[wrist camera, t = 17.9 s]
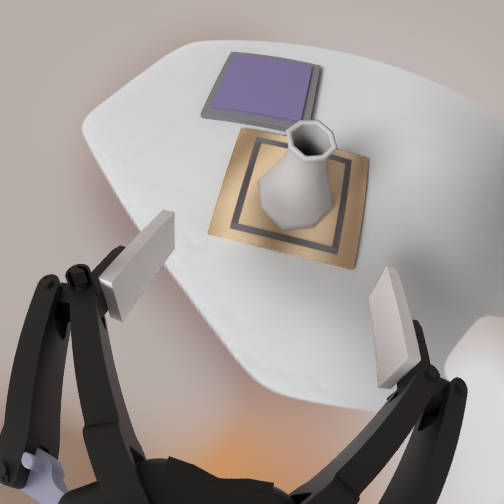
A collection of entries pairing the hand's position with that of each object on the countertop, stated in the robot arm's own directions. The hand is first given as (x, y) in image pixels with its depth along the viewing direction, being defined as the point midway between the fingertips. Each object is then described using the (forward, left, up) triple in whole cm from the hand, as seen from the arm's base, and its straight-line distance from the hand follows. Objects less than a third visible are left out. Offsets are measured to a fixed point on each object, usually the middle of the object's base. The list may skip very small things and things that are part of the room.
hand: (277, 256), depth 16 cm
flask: (0, -7, -9) cm, 12 cm away
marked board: (0, -8, -9) cm, 12 cm away
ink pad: (+6, -21, -9) cm, 24 cm away
